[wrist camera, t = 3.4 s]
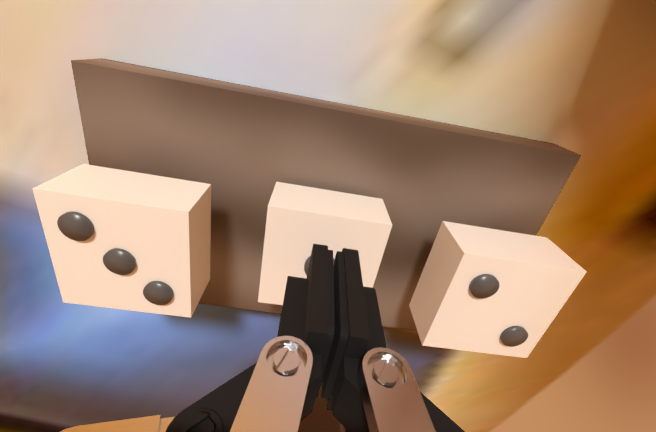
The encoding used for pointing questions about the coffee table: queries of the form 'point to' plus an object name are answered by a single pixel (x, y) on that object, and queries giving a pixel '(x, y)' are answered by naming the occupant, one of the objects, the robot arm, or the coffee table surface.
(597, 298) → the coffee table surface
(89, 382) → the coffee table surface
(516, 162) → the brown board
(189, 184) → the three dot tile
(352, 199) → the single pip block
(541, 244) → the two pip cube
